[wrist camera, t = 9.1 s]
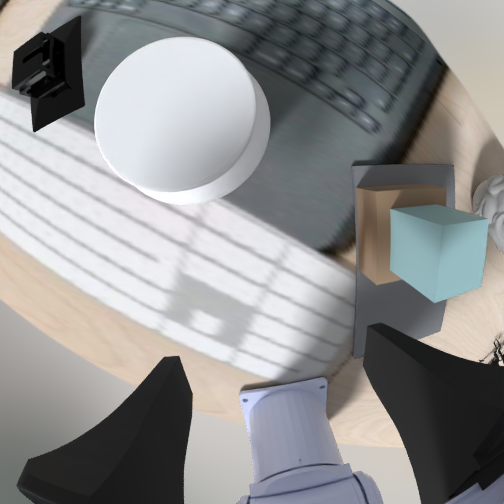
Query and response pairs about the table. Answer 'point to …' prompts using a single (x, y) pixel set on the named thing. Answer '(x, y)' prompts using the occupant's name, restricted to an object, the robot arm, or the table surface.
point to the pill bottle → (182, 121)
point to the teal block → (438, 249)
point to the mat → (400, 292)
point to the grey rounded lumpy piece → (492, 207)
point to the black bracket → (51, 73)
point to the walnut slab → (386, 223)
